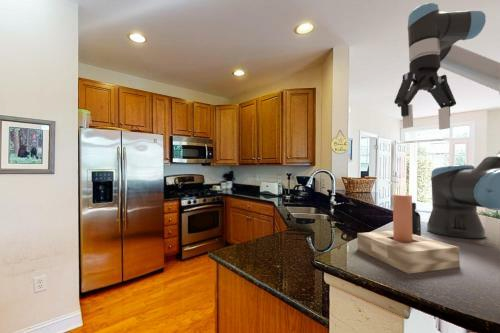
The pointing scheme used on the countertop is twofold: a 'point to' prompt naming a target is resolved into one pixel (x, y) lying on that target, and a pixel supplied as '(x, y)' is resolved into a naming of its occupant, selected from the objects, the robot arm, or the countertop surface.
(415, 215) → the supplement bottle
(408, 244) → the bore block
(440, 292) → the countertop surface
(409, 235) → the terracotta dowel
